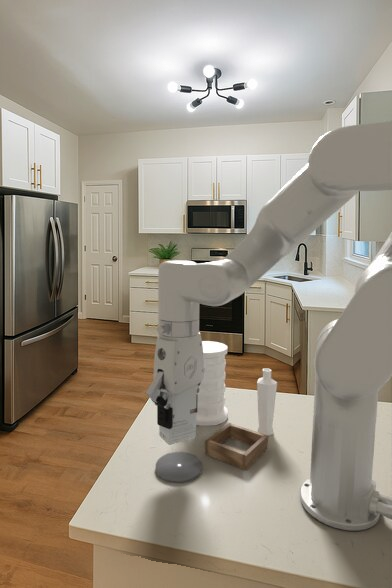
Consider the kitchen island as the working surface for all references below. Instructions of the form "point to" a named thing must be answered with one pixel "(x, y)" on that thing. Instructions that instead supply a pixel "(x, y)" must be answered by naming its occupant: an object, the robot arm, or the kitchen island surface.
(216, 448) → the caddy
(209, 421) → the decorative container
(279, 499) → the kitchen island surface
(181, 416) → the skincare box
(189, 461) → the coaster
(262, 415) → the white faceted vase
